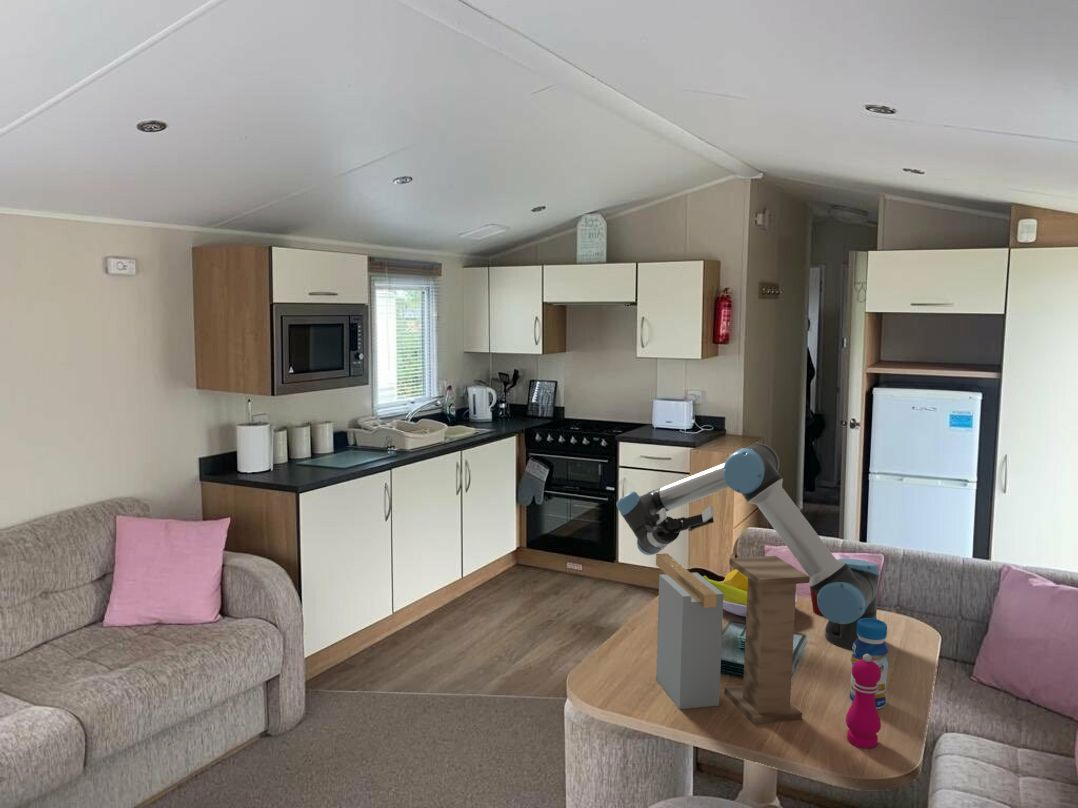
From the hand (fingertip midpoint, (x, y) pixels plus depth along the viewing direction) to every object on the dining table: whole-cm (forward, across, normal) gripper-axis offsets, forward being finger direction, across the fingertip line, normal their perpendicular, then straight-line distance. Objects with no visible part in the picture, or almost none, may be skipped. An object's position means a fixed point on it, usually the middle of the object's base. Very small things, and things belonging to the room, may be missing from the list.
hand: (688, 511), depth 235 cm
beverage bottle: (+14, -32, -53) cm, 63 cm away
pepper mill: (+28, -20, -61) cm, 70 cm away
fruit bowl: (-40, -31, -22) cm, 55 cm away
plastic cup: (-36, -53, -24) cm, 68 cm away
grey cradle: (+2, +9, -46) cm, 47 cm away
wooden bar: (+12, +9, -22) cm, 26 cm away
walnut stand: (+11, -6, -51) cm, 53 cm away
